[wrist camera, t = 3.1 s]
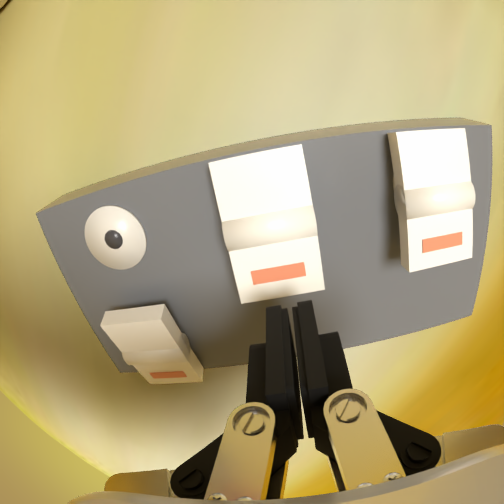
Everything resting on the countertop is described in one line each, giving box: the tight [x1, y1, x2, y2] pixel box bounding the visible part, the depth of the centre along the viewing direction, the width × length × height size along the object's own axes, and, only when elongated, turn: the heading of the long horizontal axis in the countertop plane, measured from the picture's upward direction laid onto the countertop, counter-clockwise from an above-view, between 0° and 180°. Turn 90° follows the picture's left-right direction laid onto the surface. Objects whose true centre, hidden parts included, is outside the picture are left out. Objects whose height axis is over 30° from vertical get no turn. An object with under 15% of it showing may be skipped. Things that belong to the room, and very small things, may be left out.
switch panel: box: [36, 118, 492, 372], centre depth 16 cm, size 12×24×3 cm, turn 102°
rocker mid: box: [208, 144, 325, 304], centre depth 13 cm, size 6×4×2 cm, turn 12°
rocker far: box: [100, 304, 204, 384], centre depth 16 cm, size 6×4×2 cm, turn 12°
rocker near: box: [387, 128, 475, 272], centre depth 12 cm, size 6×4×2 cm, turn 12°
